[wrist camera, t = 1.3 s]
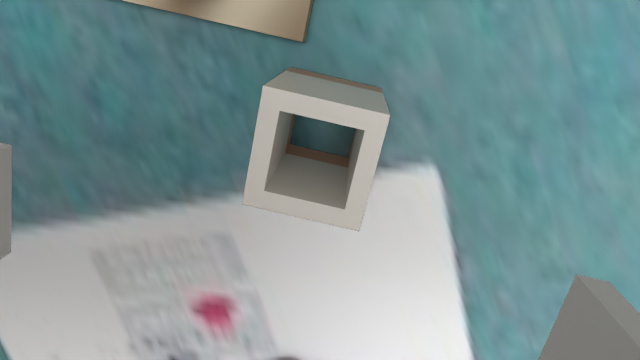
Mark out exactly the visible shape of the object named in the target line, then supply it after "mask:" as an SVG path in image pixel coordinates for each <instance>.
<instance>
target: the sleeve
mask: <svg viewBox="0 0 640 360" xmlns="http://www.w3.org/2000/svg"><path fill="white" fill-rule="evenodd" d="M296 115H300V116H305V117H309V118H313V119H318V120H322V121H326V122H331V123H335V124H339V125H344V126H348V127H352V128H356V129H355V133H354V137H353V141H352V145H351V149H350V153H349V157H344V156H340V155H335V154H331V153H327V152H323V151H318V150H314V149H310V148H305V147H301V146H297V145H292V144H290V142H291V137H292V132H293V127H294V123H295V118H296ZM389 118H390V113H389V110H388V107H387V104H386V101H385V98H384V95H383V92H382V89H381V88H379V87H375V86H371V85H366V84H362V83H358V82H354V81H349V80H345V79H341V78H336V77H332V76H328V75H323V74H319V73H315V72H310V71H306V70H302V69H297V68H293V67H290V68H288V69H287V70H286V71H284V72H283V73H281V74H280V75H278V76H277V77H275V78H274V79H272V80H271V81H269V82H268V83H266V84H265V85H263V89H262V95H261V100H260V106H259V111H258V117H257V123H256V128H255V134H254V139H253V145H252V151H251V156H250V162H249V167H248V173H247V179H246V184H245V190H244V196H243V201H242V204H243V205H248V206H252V207H256V208H261V209H265V210H269V211H274V212H278V213H282V214H286V215H291V216H295V217H299V218H304V219H308V220H312V221H317V222H321V223H325V224H329V225H334V226H338V227H342V228H347V229H351V230H355V231H359V230H360V226H361V222H362V219H363V215H364V211H365V208H366V204H367V200H368V196H369V193H370V189H371V185H372V182H373V178H374V174H375V170H376V167H377V163H378V159H379V156H380V152H381V148H382V144H383V141H384V137H385V133H386V130H387V126H388V122H389Z"/></svg>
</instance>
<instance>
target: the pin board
mask: <svg viewBox="0 0 640 360" xmlns="http://www.w3.org/2000/svg"><path fill="white" fill-rule="evenodd" d="M123 1H128V2H132V3H136V4H140V5H145V6H149V7H153V8H158V9H162V10H166V11H171V12H175V13H179V14H184V15H188V16H192V17H197V18H201V19H205V20H210V21H214V22H218V23H223V24H227V25H231V26H235V27H240V28H244V29H248V30H253V31H257V32H261V33H266V34H270V35H274V36H279V37H283V38H287V39H292V40H296V41H300V42H304V41H305V40H306V36H307V31H308V26H309V21H310V16H311V11H312V6H313V1H314V0H123Z"/></svg>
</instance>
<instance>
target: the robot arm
mask: <svg viewBox="0 0 640 360" xmlns="http://www.w3.org/2000/svg"><path fill="white" fill-rule="evenodd" d="M11 196H12V145H8V144H4V143H0V259H1V258H3V257H4V256H6V255H7V254H9V253H10V252H11ZM538 360H640V313H639V312H638V311H637V310H636V309H635V308H634V307H633V306H632V305H631V304H630V303H629V302H628V301H627V300H626V299H625V298H624V297H623V296H622V295H621V294H620V293H619V292H618V291H617V290H616V288H615V287H614V286H613V285H612V284H611V283H610V282H608V281H603V280H599V279H594V278H590V277H586V276H581V275H577V274H576V276H575V278H574V280H573V283H572V285H571V287H570V289H569V292H568V294H567V296H566V298H565V301H564V303H563V305H562V307H561V310H560V312H559V314H558V316H557V319H556V321H555V323H554V325H553V328H552V330H551V332H550V335H549V337H548V339H547V341H546V344H545V346H544V348H543V350H542V353H541V355H540V357H539V359H538Z"/></svg>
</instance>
